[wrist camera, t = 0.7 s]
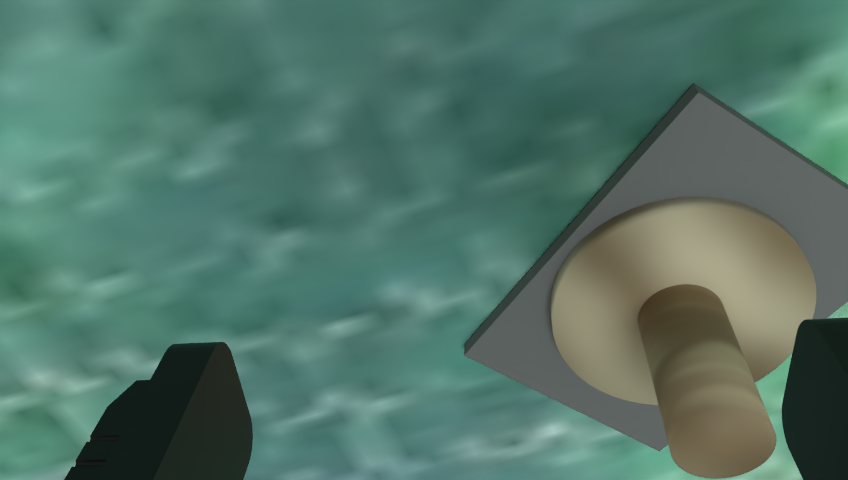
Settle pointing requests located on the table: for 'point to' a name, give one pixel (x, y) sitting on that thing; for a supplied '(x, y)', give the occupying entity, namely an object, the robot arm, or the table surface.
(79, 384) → the table surface
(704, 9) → the table surface
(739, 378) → the lid
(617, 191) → the mat
